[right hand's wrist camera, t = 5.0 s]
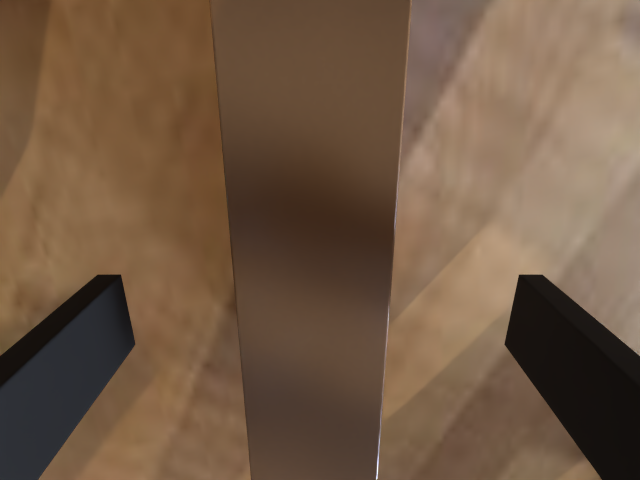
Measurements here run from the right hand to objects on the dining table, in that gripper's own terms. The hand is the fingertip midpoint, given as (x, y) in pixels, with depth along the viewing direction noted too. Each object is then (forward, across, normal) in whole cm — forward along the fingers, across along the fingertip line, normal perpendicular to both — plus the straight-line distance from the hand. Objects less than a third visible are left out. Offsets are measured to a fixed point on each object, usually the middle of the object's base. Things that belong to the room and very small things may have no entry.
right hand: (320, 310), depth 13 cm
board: (+6, 0, -26) cm, 27 cm away
